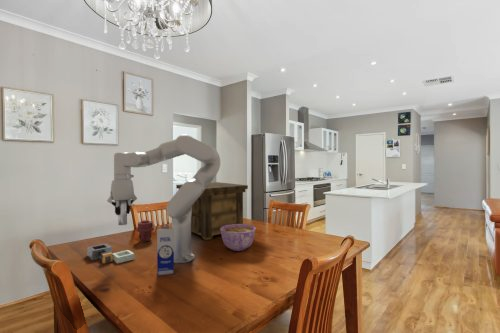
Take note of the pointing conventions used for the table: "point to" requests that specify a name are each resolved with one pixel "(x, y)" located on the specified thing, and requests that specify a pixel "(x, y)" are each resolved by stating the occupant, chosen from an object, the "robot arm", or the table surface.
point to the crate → (217, 208)
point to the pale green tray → (123, 256)
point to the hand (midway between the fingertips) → (122, 213)
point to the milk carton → (165, 251)
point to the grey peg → (122, 213)
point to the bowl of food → (237, 236)
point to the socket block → (98, 250)
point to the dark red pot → (145, 230)
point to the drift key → (105, 257)
